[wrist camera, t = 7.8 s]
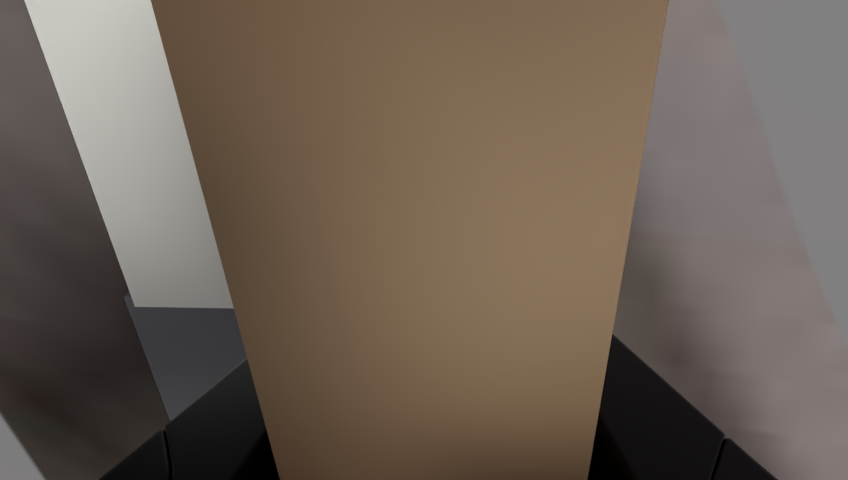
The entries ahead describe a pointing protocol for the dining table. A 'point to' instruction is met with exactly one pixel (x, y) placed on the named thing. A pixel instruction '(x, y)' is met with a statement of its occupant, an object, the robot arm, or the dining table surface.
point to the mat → (187, 349)
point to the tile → (133, 147)
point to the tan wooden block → (420, 219)
